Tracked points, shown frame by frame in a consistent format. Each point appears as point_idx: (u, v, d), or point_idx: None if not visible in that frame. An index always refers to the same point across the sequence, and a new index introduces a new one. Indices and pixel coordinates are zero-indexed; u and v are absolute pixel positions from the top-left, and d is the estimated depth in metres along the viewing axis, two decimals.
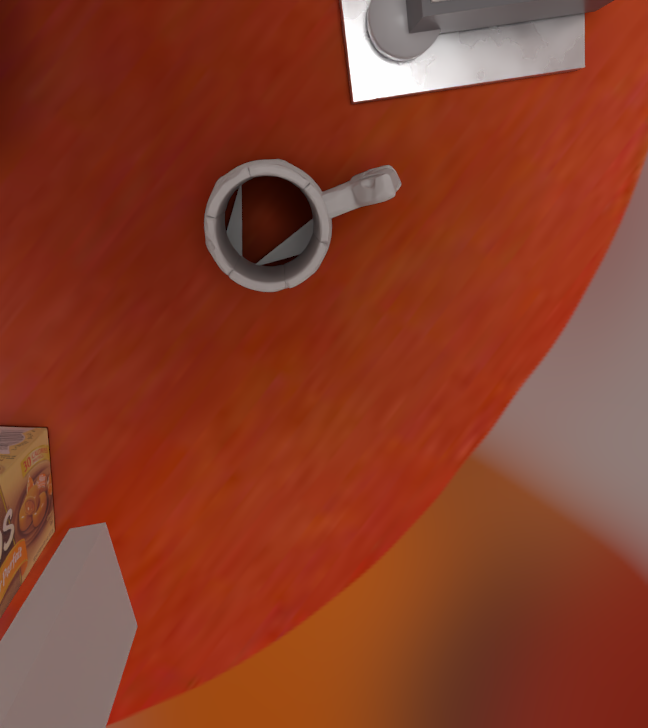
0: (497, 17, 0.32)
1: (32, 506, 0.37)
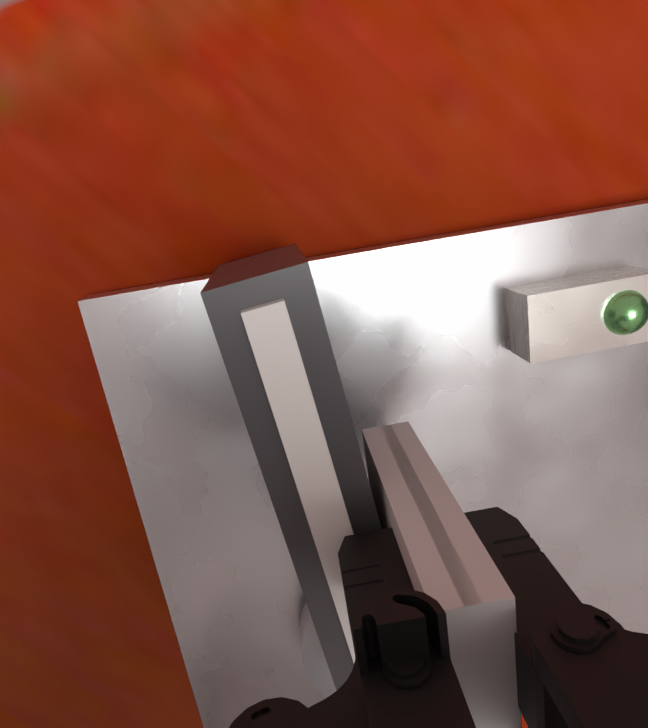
0: None
1: None
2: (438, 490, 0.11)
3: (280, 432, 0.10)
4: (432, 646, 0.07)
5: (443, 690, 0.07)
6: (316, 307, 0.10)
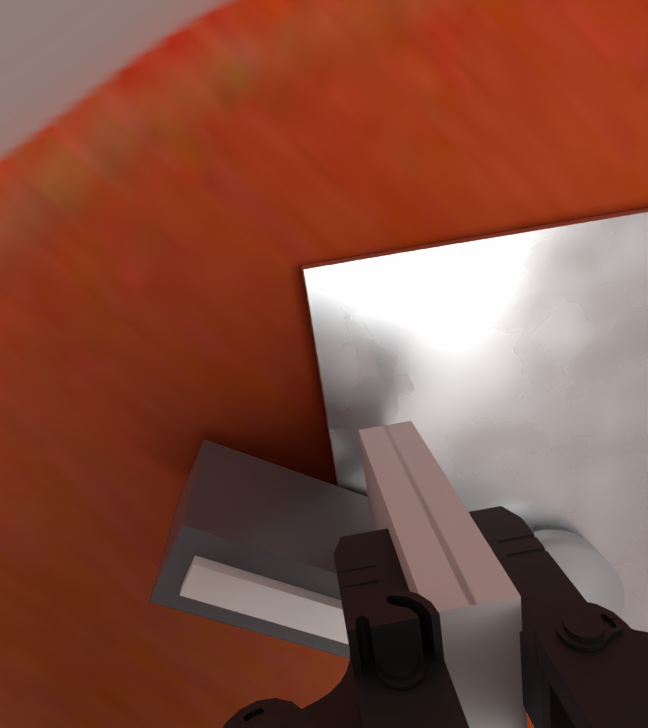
0: None
1: None
2: (442, 489, 0.11)
3: (285, 624, 0.12)
4: (426, 647, 0.07)
5: (437, 691, 0.07)
6: (219, 539, 0.12)
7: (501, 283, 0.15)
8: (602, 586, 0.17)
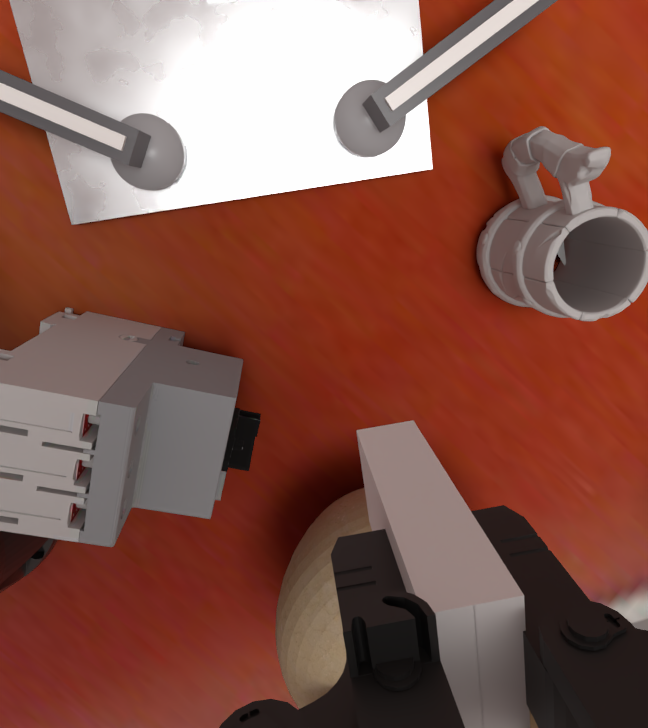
0: None
1: None
2: (444, 489, 0.11)
3: None
4: (422, 648, 0.07)
5: (433, 692, 0.07)
6: None
7: None
8: (167, 137, 0.34)
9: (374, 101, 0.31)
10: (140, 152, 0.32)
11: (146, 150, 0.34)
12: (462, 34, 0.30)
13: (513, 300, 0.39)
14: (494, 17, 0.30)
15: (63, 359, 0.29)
